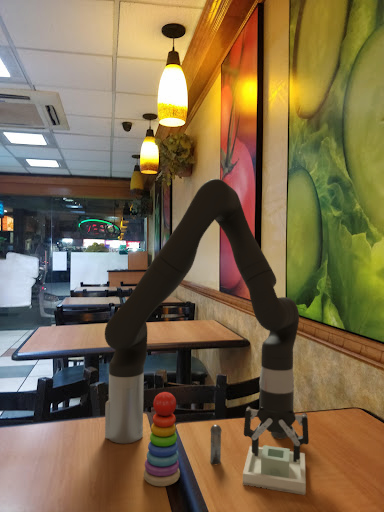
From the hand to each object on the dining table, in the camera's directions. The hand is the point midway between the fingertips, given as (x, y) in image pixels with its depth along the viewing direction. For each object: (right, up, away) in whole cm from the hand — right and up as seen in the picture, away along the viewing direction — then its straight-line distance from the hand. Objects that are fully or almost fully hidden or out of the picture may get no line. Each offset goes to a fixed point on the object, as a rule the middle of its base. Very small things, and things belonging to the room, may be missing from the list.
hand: (275, 457), depth 90 cm
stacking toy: (-26, -3, -2) cm, 26 cm away
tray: (0, -4, 0) cm, 4 cm away
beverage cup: (+5, -4, +19) cm, 20 cm away
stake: (-13, -3, +5) cm, 14 cm away
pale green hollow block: (0, -3, 0) cm, 3 cm away
